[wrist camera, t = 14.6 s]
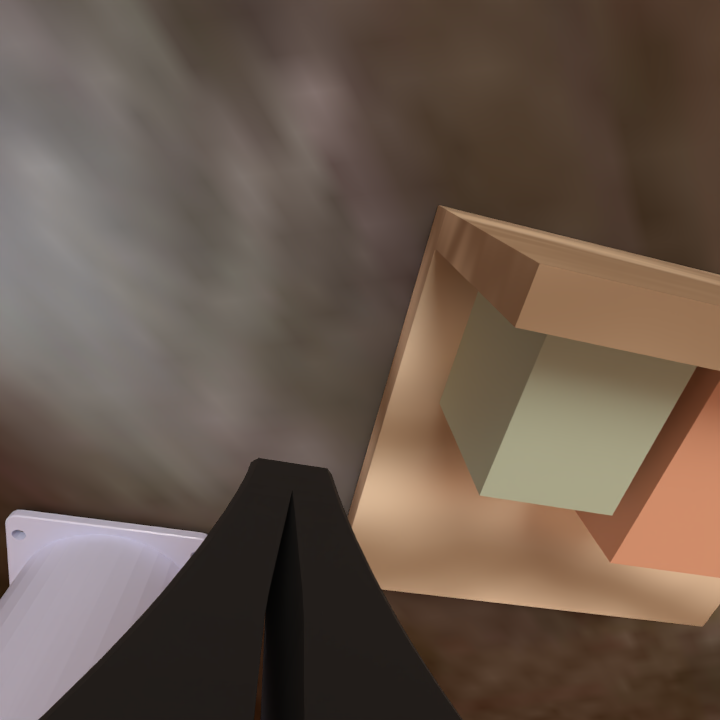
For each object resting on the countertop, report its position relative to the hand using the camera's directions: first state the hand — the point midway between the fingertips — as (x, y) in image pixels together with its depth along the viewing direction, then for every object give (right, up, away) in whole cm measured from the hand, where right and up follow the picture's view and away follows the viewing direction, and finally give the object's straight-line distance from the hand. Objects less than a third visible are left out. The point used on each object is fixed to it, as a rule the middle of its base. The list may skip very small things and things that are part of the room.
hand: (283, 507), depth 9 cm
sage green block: (+7, +3, +8) cm, 11 cm away
